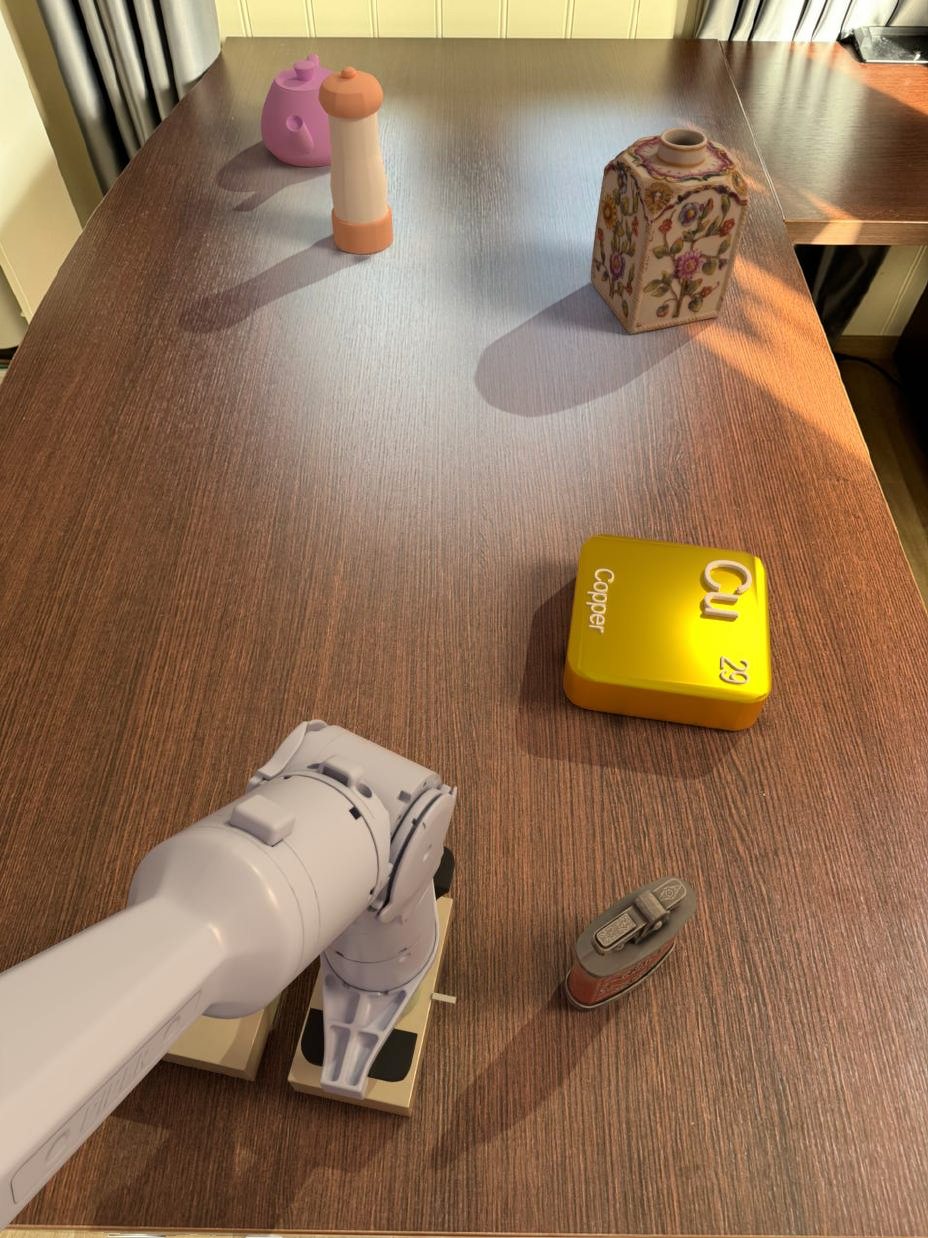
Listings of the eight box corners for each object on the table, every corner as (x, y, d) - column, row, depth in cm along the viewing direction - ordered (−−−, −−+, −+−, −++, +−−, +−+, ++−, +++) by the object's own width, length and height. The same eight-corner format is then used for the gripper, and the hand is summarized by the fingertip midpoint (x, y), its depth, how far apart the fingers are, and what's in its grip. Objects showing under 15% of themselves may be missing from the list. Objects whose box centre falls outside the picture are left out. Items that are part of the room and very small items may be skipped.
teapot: (251, 184, 118) (235, 98, 110) (275, 117, 131) (262, 34, 122) (355, 186, 118) (347, 100, 110) (369, 118, 130) (363, 36, 122)
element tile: (577, 563, 78) (584, 524, 74) (753, 586, 76) (769, 548, 72) (559, 707, 69) (565, 672, 65) (758, 737, 67) (776, 702, 63)
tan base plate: (254, 1081, 53) (243, 1070, 50) (121, 1051, 54) (104, 1038, 51) (314, 887, 60) (308, 868, 57) (196, 863, 61) (185, 844, 58)
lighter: (650, 908, 59) (679, 845, 51) (685, 952, 57) (720, 894, 49) (552, 977, 56) (567, 922, 49) (585, 1025, 55) (606, 976, 47)
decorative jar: (627, 337, 98) (655, 171, 84) (585, 281, 105) (605, 118, 90) (725, 318, 100) (768, 153, 86) (678, 263, 107) (711, 102, 93)
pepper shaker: (339, 221, 113) (321, 52, 98) (397, 224, 112) (387, 55, 97) (329, 252, 108) (307, 80, 93) (388, 256, 108) (376, 83, 93)
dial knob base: (434, 1123, 51) (433, 1113, 49) (294, 1091, 52) (286, 1080, 50) (474, 919, 59) (474, 901, 56) (350, 894, 60) (345, 876, 57)
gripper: (334, 752, 47) (358, 857, 58) (237, 1046, 38) (286, 1105, 49) (466, 777, 46) (465, 878, 57) (398, 1083, 37) (412, 1135, 48)
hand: (390, 985), depth 53 cm, fingers open, 7 cm apart
